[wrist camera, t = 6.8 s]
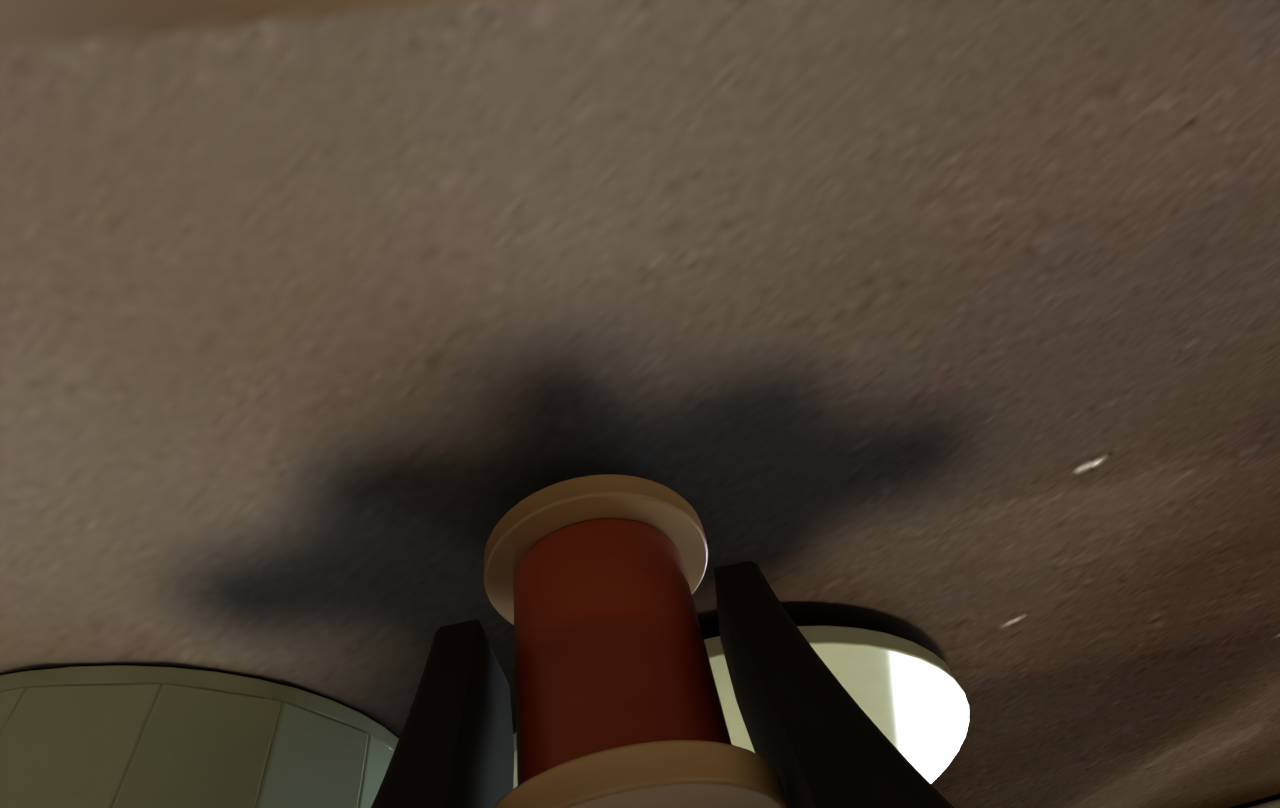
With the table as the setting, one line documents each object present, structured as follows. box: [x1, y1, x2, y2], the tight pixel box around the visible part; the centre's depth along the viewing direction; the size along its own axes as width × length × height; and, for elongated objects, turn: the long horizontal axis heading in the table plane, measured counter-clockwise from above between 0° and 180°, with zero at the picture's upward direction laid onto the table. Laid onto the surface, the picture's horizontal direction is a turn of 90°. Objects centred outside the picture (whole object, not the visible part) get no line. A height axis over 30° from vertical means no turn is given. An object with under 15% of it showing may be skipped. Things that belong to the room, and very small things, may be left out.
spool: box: [484, 474, 790, 808], centre depth 11 cm, size 4×4×5 cm
